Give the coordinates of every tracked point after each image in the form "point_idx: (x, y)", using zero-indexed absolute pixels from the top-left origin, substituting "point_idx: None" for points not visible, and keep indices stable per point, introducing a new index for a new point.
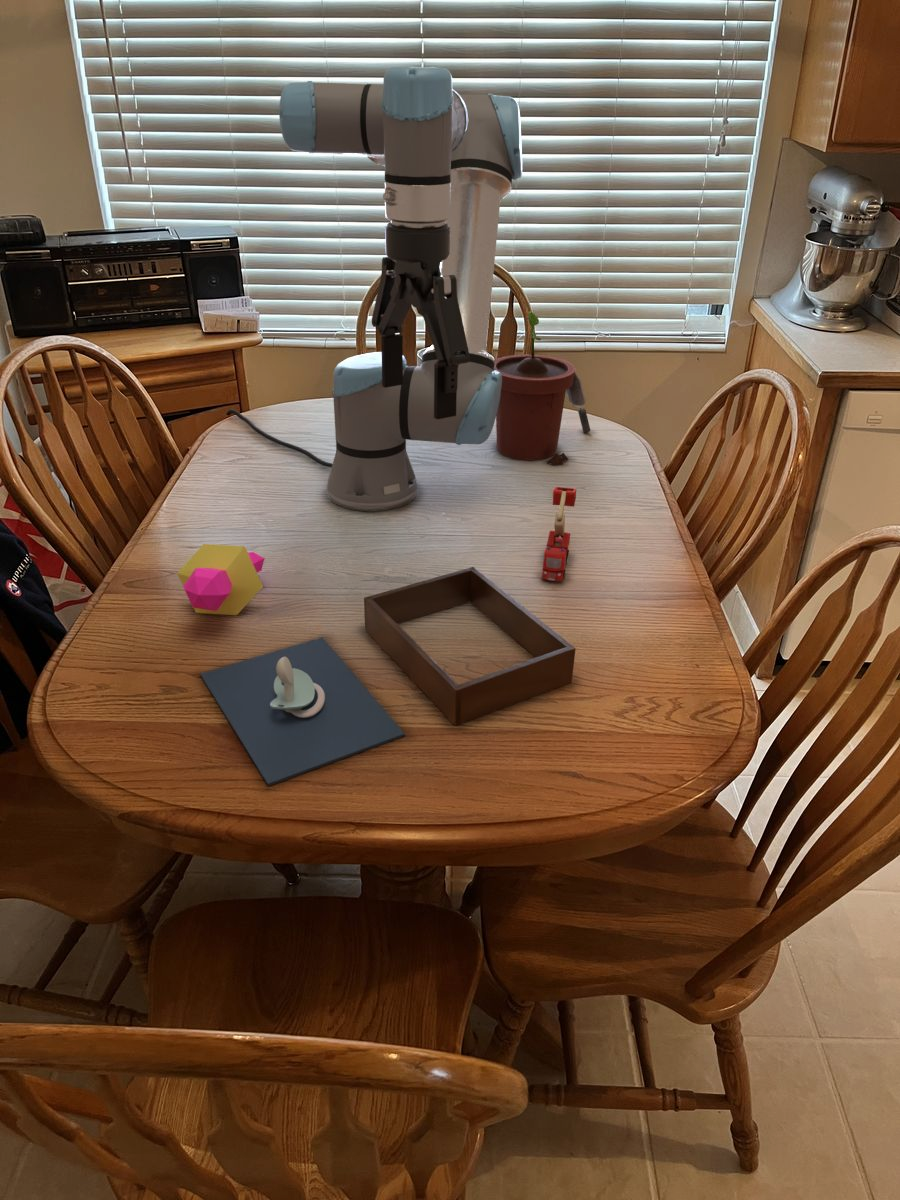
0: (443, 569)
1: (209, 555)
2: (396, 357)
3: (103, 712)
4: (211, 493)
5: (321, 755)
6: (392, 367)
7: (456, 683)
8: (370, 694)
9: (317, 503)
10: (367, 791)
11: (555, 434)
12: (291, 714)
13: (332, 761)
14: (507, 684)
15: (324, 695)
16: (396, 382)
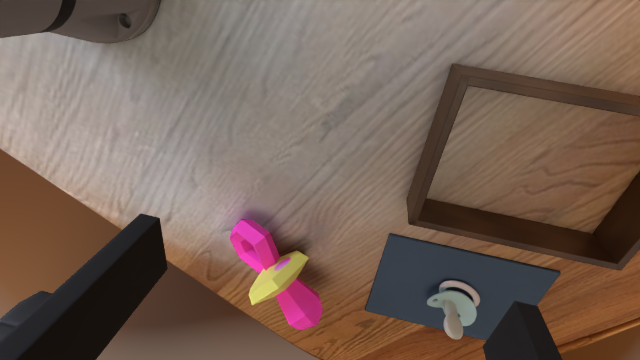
0: (364, 40)
1: (265, 299)
2: (83, 320)
3: (358, 351)
4: (48, 145)
5: None
6: (119, 301)
7: (614, 264)
8: (495, 259)
9: (106, 59)
10: (573, 317)
11: None
12: None
13: None
14: None
15: (468, 286)
16: (155, 244)
